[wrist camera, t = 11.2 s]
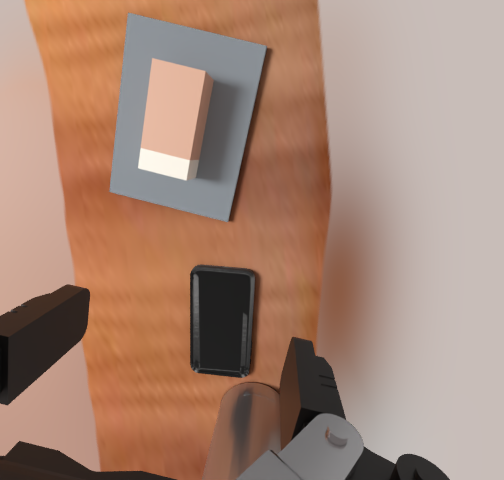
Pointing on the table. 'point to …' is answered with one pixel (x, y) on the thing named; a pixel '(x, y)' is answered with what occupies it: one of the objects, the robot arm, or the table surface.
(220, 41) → the mat
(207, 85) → the white-tipped pink eraser
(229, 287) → the phone
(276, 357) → the table surface
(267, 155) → the table surface
